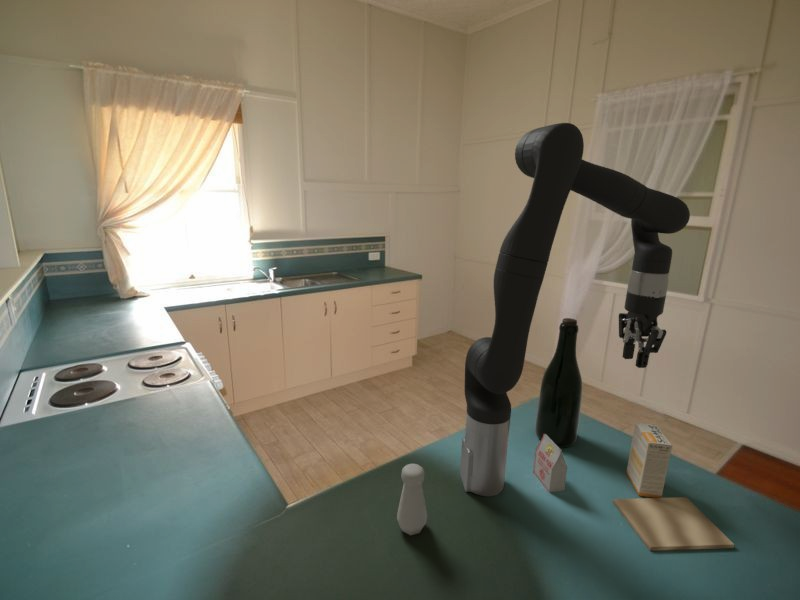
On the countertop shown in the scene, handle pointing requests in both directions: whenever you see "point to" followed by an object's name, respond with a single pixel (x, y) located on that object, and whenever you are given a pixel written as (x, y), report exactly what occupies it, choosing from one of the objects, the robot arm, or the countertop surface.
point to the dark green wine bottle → (561, 390)
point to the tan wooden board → (671, 524)
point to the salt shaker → (412, 500)
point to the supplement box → (648, 460)
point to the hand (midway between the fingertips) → (634, 362)
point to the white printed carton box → (550, 465)
